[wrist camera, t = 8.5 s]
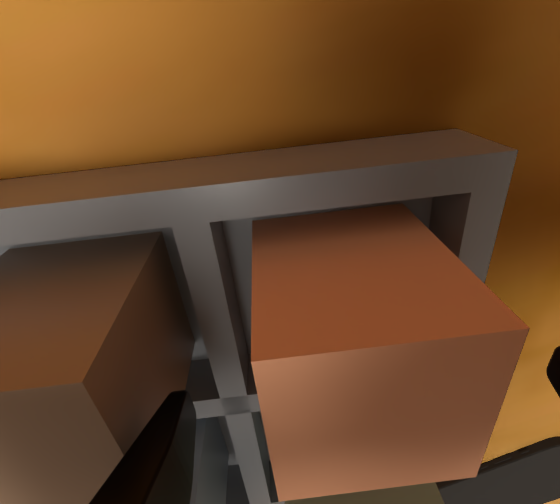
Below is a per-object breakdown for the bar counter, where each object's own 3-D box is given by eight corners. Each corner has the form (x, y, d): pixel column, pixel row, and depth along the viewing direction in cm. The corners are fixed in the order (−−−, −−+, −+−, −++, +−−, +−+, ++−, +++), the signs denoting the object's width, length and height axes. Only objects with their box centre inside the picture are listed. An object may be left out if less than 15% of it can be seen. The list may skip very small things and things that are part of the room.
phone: (350, 521, 24) (572, 439, 20) (347, 507, 24) (561, 426, 21) (394, 553, 27) (591, 488, 23) (390, 540, 28) (581, 475, 24)
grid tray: (408, 435, 20) (477, 604, 14) (114, 471, 19) (50, 658, 13) (456, 128, 11) (698, 213, 5) (-64, 187, 11) (-455, 347, 5)
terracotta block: (392, 318, 14) (476, 476, 9) (269, 333, 14) (278, 501, 9) (402, 203, 11) (529, 328, 6) (252, 221, 11) (251, 362, 6)
